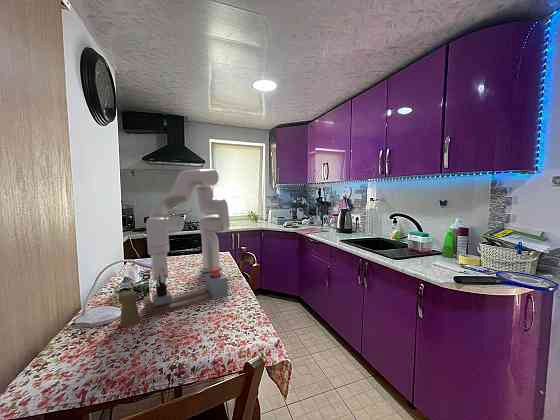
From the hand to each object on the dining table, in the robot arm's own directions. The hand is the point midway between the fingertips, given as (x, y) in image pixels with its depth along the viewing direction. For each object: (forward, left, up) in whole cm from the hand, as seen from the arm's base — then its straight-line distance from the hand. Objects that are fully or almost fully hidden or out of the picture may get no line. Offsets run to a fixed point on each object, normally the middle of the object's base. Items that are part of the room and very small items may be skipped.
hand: (161, 293), depth 93 cm
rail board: (0, +6, -6) cm, 8 cm away
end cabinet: (0, +22, -6) cm, 23 cm away
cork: (+5, -11, -6) cm, 13 cm away
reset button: (0, +22, +2) cm, 22 cm away
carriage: (0, 0, -4) cm, 4 cm away
